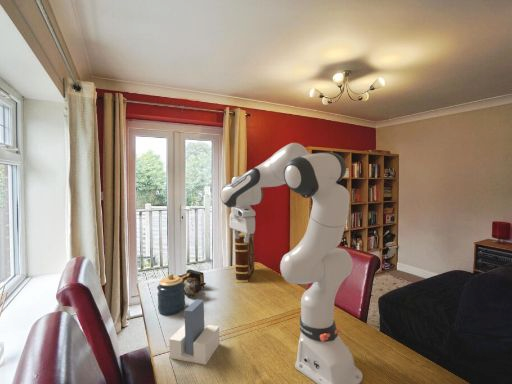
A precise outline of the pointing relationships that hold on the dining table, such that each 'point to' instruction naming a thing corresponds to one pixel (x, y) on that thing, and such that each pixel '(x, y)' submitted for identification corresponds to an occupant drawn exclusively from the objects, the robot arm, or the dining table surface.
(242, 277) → the decorative book
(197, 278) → the bookend
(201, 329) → the slim book
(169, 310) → the canister
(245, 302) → the dining table surface
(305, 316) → the robot arm
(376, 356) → the dining table surface
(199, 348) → the book stand
